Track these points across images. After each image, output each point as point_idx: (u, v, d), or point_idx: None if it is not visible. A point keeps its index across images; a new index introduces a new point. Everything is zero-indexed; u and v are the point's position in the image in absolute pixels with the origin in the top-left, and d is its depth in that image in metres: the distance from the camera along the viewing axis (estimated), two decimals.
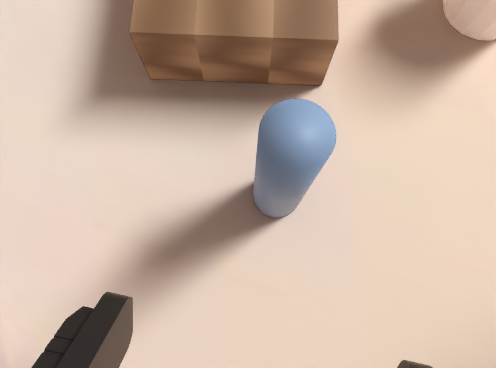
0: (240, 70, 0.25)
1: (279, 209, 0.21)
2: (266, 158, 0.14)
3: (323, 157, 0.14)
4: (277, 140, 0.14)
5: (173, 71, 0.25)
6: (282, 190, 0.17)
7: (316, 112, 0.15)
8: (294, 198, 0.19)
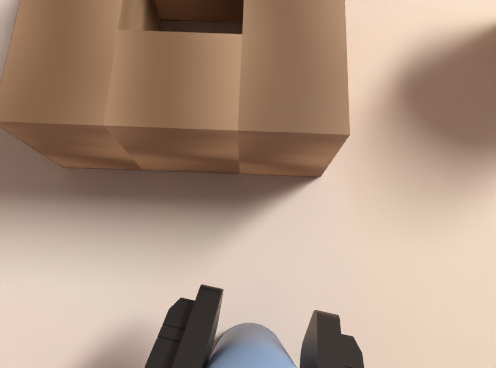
0: (194, 161, 0.16)
1: None
2: None
3: None
4: None
5: (92, 161, 0.16)
6: None
7: None
8: None
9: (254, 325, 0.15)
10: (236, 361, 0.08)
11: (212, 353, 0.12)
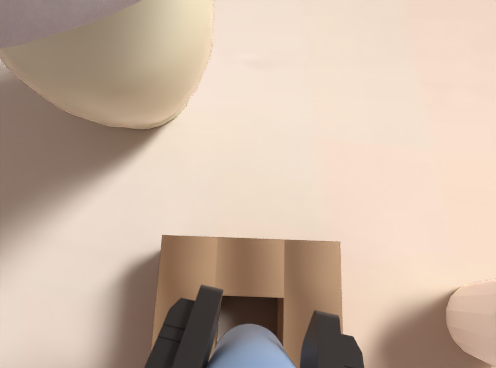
0: None
1: None
2: None
3: None
4: None
5: None
6: None
7: None
8: None
9: (254, 326, 0.15)
10: (236, 362, 0.08)
11: (212, 354, 0.12)
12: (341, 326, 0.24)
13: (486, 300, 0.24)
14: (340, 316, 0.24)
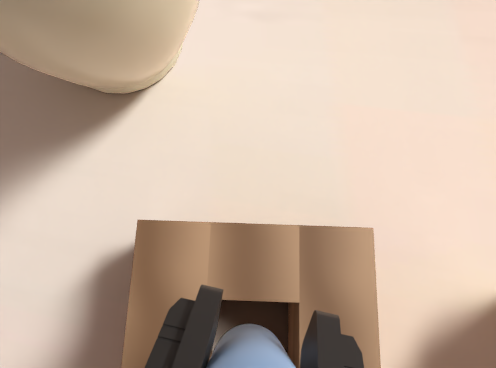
0: None
1: None
2: None
3: None
4: None
5: None
6: None
7: None
8: None
9: (254, 326, 0.15)
10: (236, 362, 0.08)
11: (212, 354, 0.12)
12: (377, 341, 0.18)
13: None
14: (376, 327, 0.18)
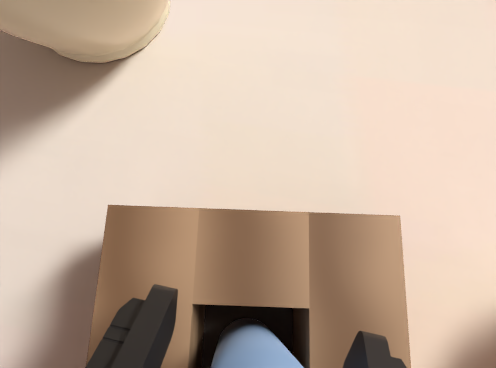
0: None
1: None
2: None
3: None
4: None
5: None
6: None
7: None
8: None
9: (251, 319, 0.18)
10: (244, 340, 0.11)
11: (219, 340, 0.16)
12: (408, 357, 0.14)
13: None
14: (406, 340, 0.14)
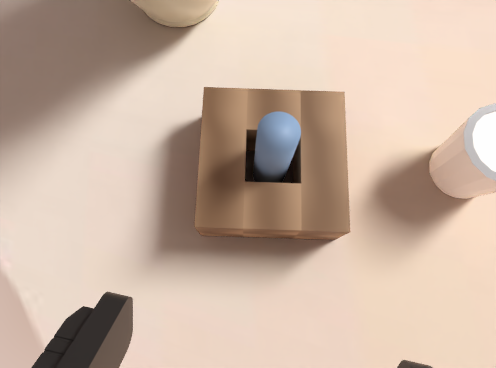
0: (273, 235, 0.32)
1: None
2: (261, 145, 0.25)
3: (293, 144, 0.25)
4: (267, 135, 0.25)
5: (220, 234, 0.32)
6: (271, 166, 0.28)
7: (290, 119, 0.26)
8: (279, 173, 0.30)
9: None
10: None
11: None
12: (345, 151, 0.30)
13: (458, 131, 0.31)
14: (345, 144, 0.31)
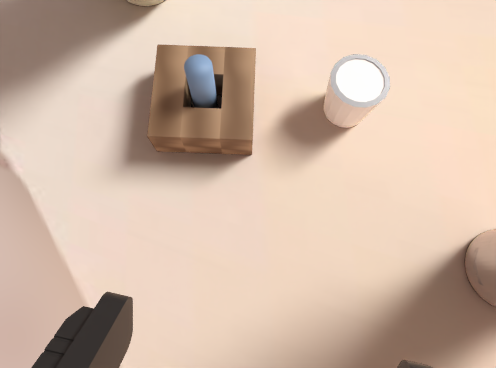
0: (205, 148, 0.46)
1: None
2: (186, 75, 0.39)
3: (207, 74, 0.39)
4: (190, 68, 0.39)
5: (169, 148, 0.46)
6: (198, 94, 0.42)
7: (206, 59, 0.39)
8: (206, 101, 0.44)
9: None
10: None
11: None
12: (253, 87, 0.44)
13: None
14: (253, 83, 0.44)
